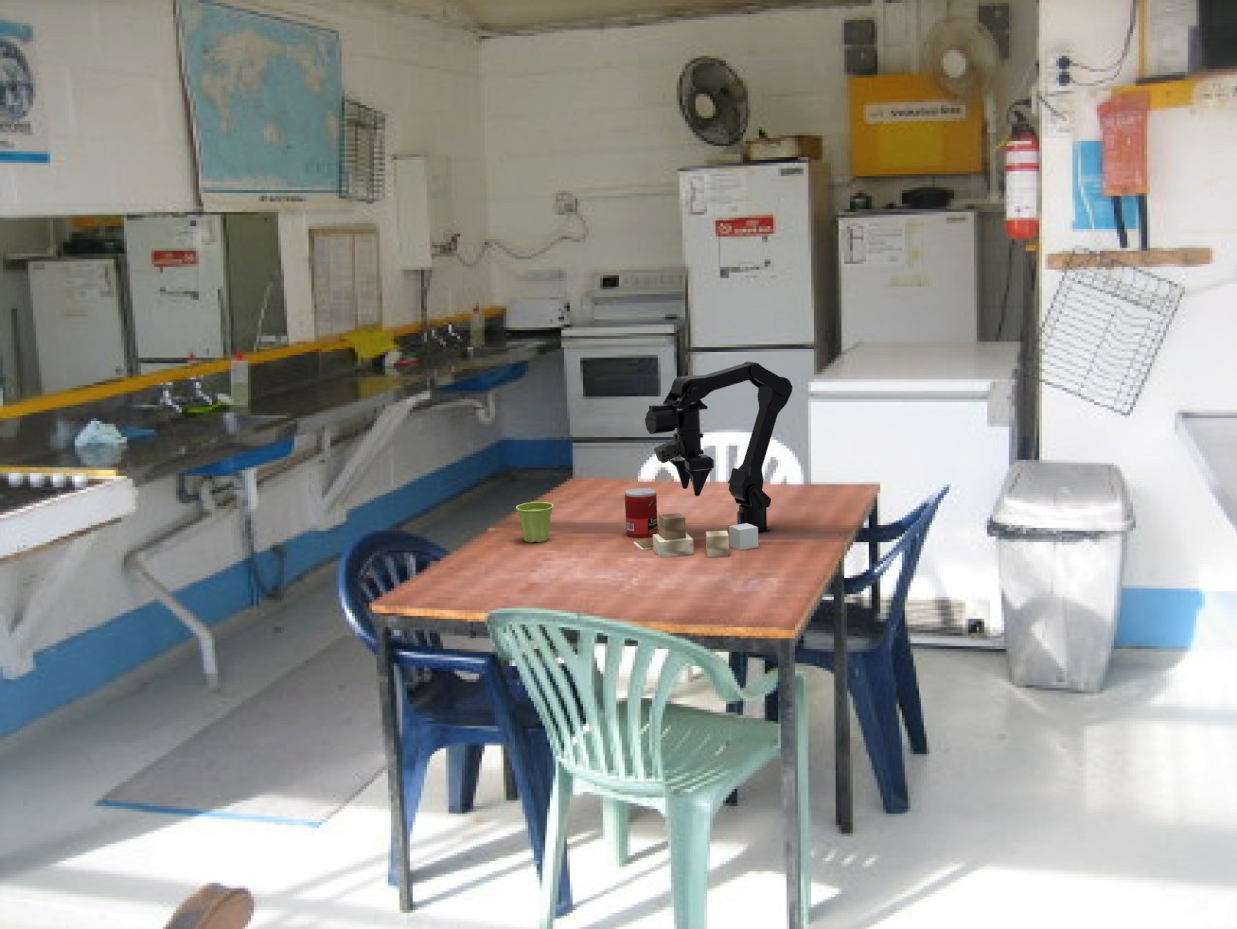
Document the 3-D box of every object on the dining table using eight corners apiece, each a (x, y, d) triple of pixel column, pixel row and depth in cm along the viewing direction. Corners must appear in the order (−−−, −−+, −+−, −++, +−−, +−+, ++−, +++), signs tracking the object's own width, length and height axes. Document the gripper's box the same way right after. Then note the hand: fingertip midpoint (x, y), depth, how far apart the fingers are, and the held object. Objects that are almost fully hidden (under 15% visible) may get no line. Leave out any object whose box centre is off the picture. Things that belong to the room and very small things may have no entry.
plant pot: (563, 538, 332) (561, 504, 330) (535, 546, 325) (533, 512, 323) (537, 533, 338) (535, 500, 336) (509, 541, 331) (508, 507, 330)
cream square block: (685, 547, 319) (685, 531, 318) (693, 556, 311) (693, 539, 311) (653, 550, 318) (652, 534, 317) (660, 558, 310) (659, 542, 309)
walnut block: (679, 533, 317) (678, 513, 316) (685, 538, 312) (685, 517, 311) (659, 535, 316) (658, 515, 315) (665, 540, 311) (664, 519, 310)
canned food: (655, 538, 329) (653, 494, 327) (623, 537, 330) (621, 494, 328) (660, 530, 336) (658, 488, 334) (629, 530, 338) (627, 488, 336)
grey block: (747, 543, 320) (747, 523, 319) (758, 547, 316) (757, 527, 315) (729, 546, 318) (729, 525, 317) (740, 550, 314) (739, 530, 313)
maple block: (727, 551, 314) (726, 530, 313) (729, 556, 309) (728, 535, 308) (706, 552, 314) (705, 531, 313) (707, 557, 309) (707, 536, 308)
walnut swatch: (661, 540, 326) (661, 538, 326) (670, 547, 319) (670, 544, 319) (633, 543, 324) (633, 541, 324) (641, 550, 317) (641, 547, 317)
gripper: (645, 426, 327) (648, 488, 330) (668, 438, 310) (671, 503, 313) (688, 422, 330) (690, 483, 333) (713, 433, 312) (716, 498, 315)
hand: (691, 492), depth 324 cm, fingers open, 9 cm apart
